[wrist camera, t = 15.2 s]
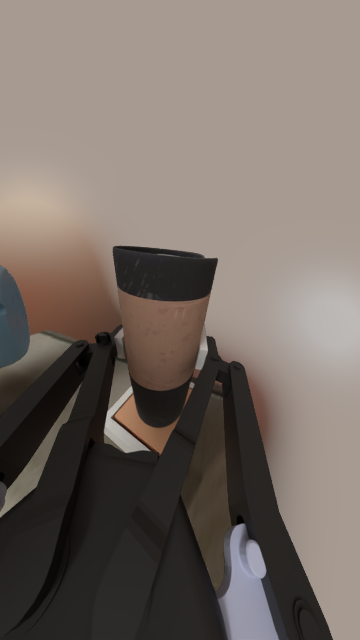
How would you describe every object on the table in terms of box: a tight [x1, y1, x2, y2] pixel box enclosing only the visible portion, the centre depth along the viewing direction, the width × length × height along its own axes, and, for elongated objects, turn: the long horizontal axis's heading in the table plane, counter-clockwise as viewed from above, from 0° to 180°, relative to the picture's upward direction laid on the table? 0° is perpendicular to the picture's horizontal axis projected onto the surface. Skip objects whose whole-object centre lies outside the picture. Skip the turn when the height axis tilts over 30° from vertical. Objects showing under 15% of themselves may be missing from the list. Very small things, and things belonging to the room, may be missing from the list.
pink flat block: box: [115, 388, 192, 457], centre depth 21 cm, size 9×9×3 cm
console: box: [104, 382, 195, 453], centre depth 21 cm, size 12×12×4 cm
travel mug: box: [113, 246, 218, 428], centre depth 15 cm, size 8×8×20 cm
